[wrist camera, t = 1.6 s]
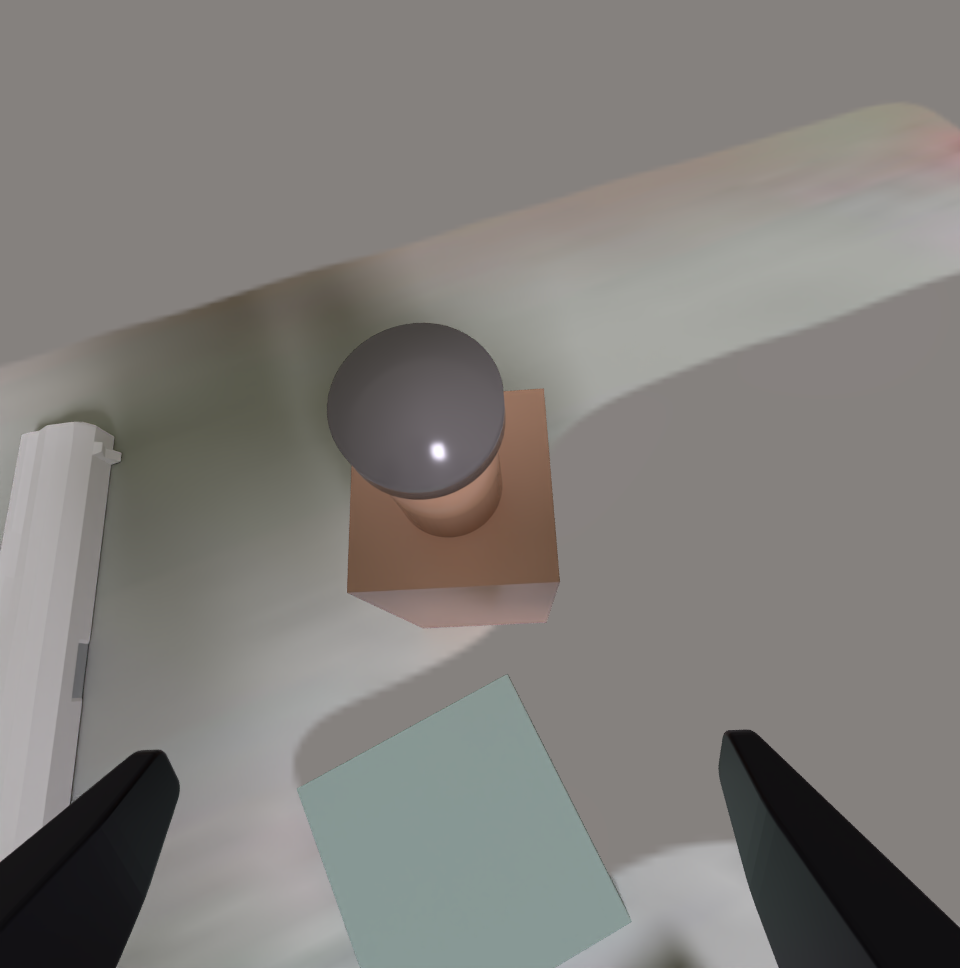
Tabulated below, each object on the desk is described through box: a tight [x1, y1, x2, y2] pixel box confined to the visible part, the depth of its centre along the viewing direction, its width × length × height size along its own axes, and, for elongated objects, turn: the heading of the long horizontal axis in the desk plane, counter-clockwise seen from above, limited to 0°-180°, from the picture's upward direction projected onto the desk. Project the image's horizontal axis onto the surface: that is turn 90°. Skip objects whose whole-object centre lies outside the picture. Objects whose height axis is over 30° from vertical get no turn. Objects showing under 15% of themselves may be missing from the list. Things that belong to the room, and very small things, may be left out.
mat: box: [297, 674, 632, 968], centre depth 19 cm, size 8×8×1 cm
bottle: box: [327, 323, 560, 628], centre depth 16 cm, size 5×5×14 cm
